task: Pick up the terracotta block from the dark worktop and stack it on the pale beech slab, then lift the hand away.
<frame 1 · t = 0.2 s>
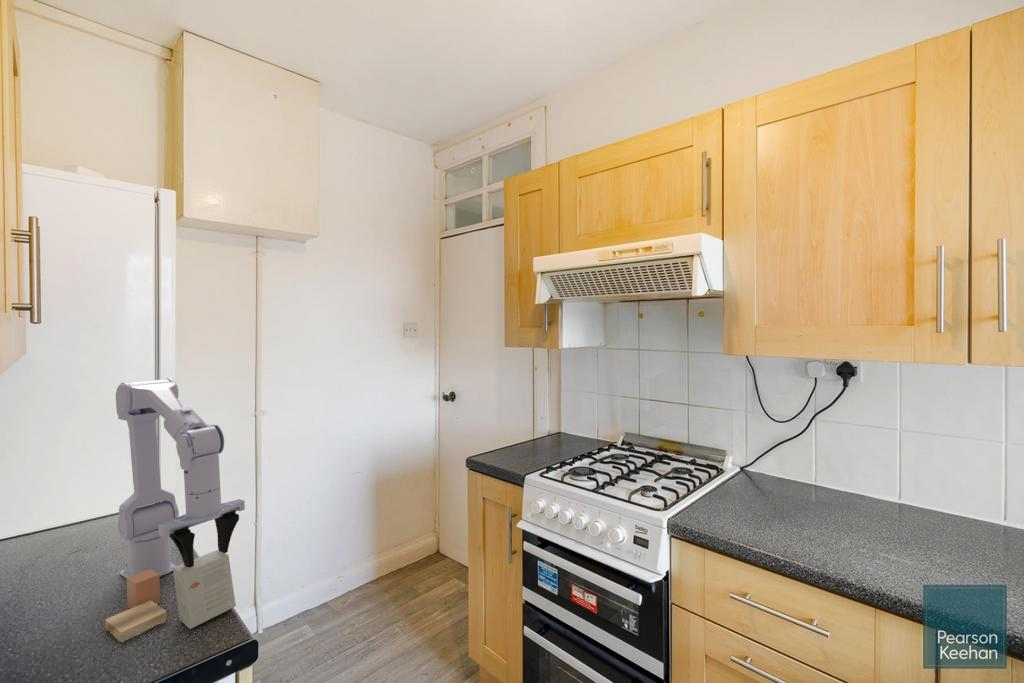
hand: (206, 558, 90), 11 cm above the countertop, tool pointing down, fingers closed on small box, 5 cm apart
small box: (208, 615, 89), on the countertop, touching gripper
block: (144, 605, 93), on the countertop
base slab: (136, 625, 86), on the countertop
when the fingers open (11 cm above the countertop, at t = 0.2 s): small box moves 5 cm, resting on base slab.
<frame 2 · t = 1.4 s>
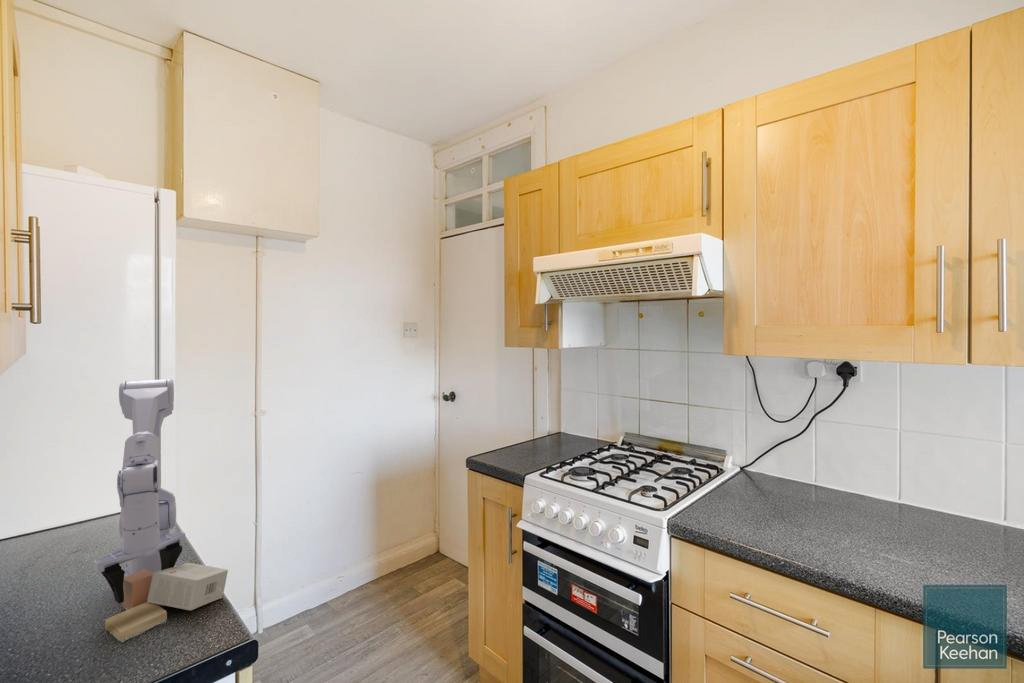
hand: (143, 591, 92), 3 cm above the countertop, tool pointing down, fingers open, 7 cm apart
small box: (211, 589, 92), point 4 cm above the countertop, touching base slab, gripper
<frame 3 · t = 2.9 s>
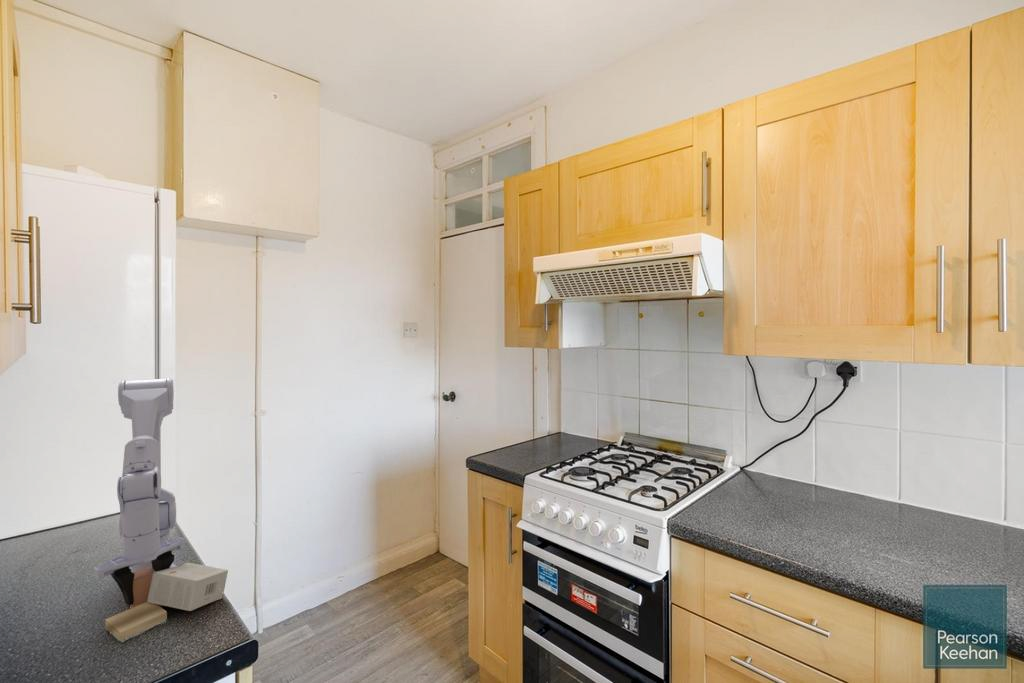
hand: (143, 597, 93), 2 cm above the countertop, tool pointing down, fingers closed on block, 4 cm apart
block: (142, 602, 93), on the countertop, touching gripper
everything else where it was.
when the fingers open (5 cm above the countertop, at t = 5.5 s): block drops 1 cm, resting on base slab.
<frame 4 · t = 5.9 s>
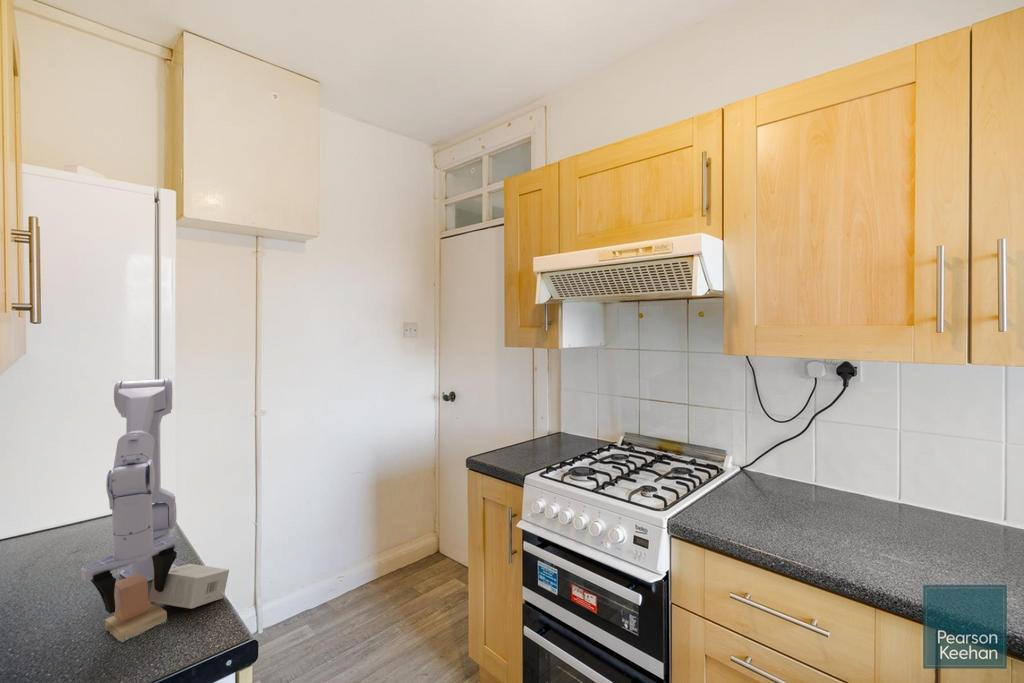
hand: (135, 600, 86), 5 cm above the countertop, tool pointing down, fingers open, 7 cm apart
block: (131, 612, 87), point 2 cm above the countertop, touching base slab
everything else where it was.
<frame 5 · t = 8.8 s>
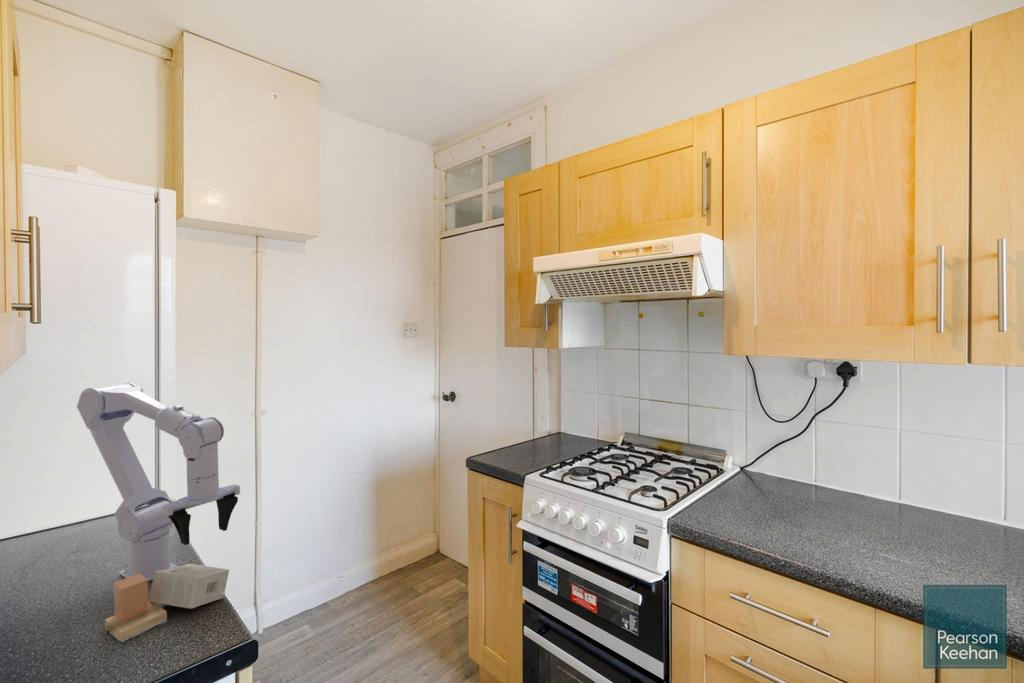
hand: (204, 536, 101), 10 cm above the countertop, tool pointing down, fingers open, 7 cm apart
small box: (212, 588, 92), point 4 cm above the countertop, touching base slab
everything else where it was.
at the end: block 1.9 cm off-centre on the base slab, point 2.0 cm above the base slab's base; block tilted 0°; the gripper is holding nothing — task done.
